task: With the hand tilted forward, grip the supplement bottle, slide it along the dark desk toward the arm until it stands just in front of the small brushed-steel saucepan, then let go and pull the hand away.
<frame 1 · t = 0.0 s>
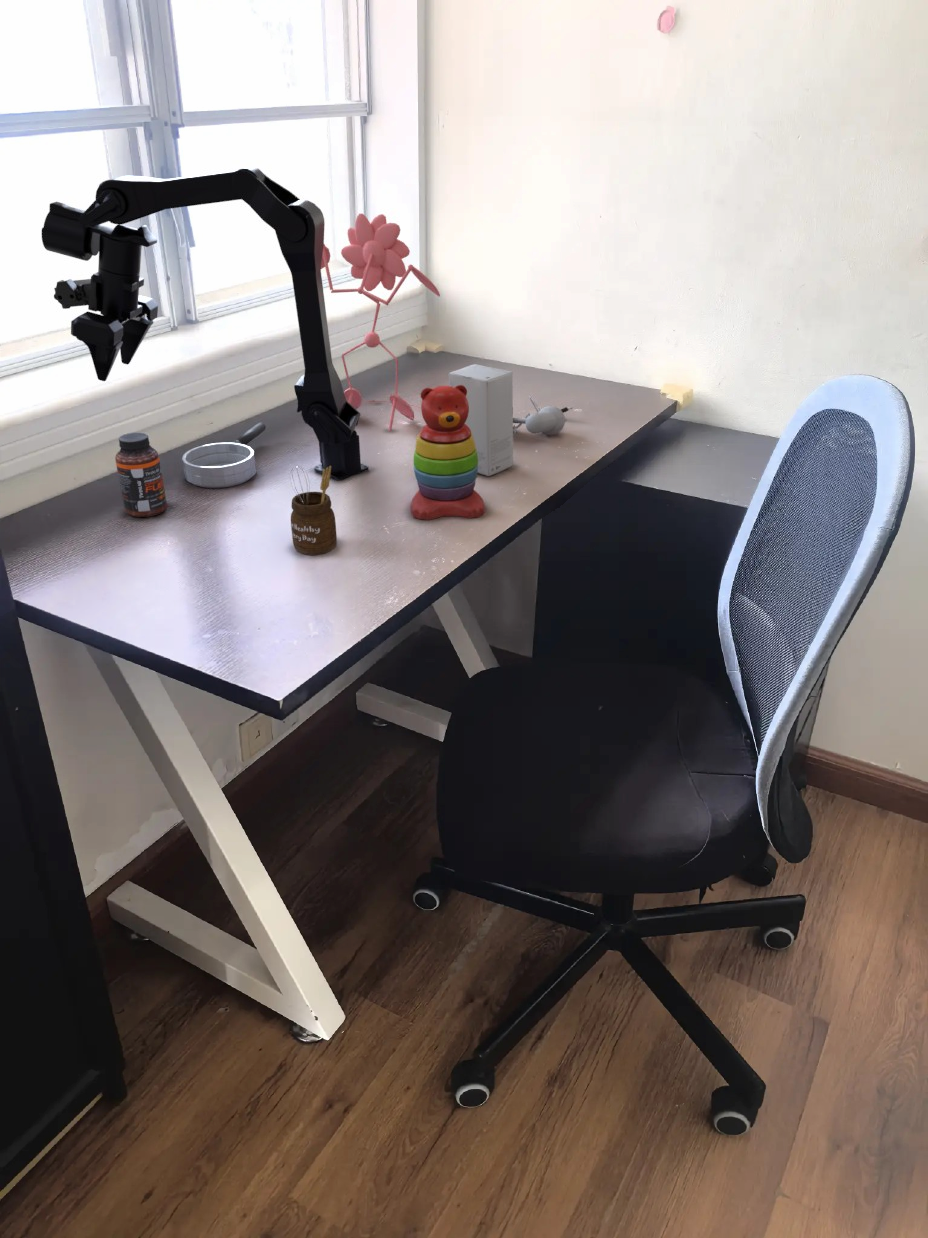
hand: (114, 371, 143), 15 cm above the table, tool pointing down, fingers open, 9 cm apart
utensil holder: (316, 547, 125), on the table
stacking bear: (446, 506, 137), on the table
supplement bottle: (147, 511, 136), on the table
cosmetic box: (481, 467, 150), on the table
pan: (221, 475, 147), on the table
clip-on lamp: (533, 431, 165), on the table
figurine: (386, 417, 172), on the table
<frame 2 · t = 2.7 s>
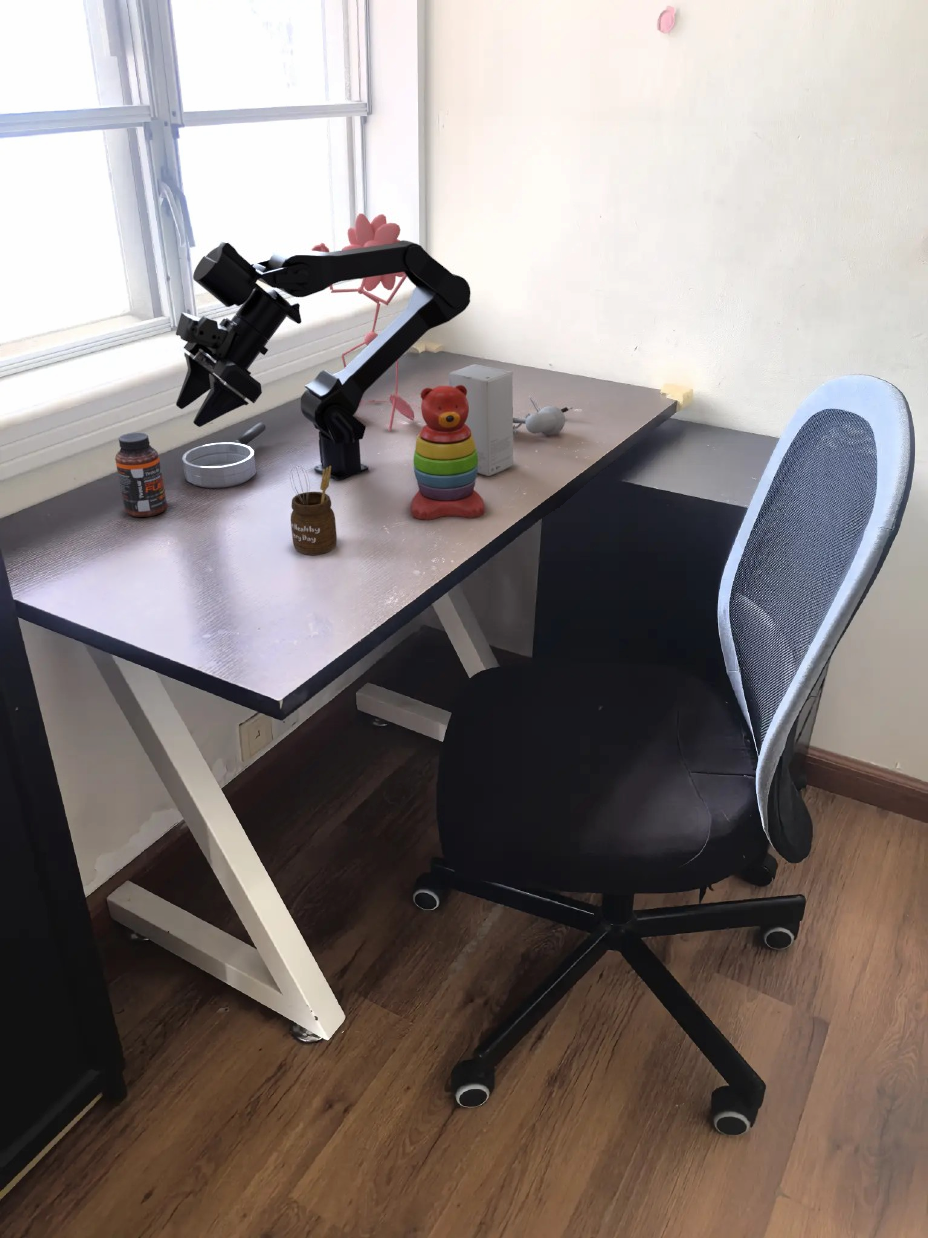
hand: (187, 415, 132), 13 cm above the table, tool tilted 45°, fingers open, 9 cm apart
nothing on the table moved.
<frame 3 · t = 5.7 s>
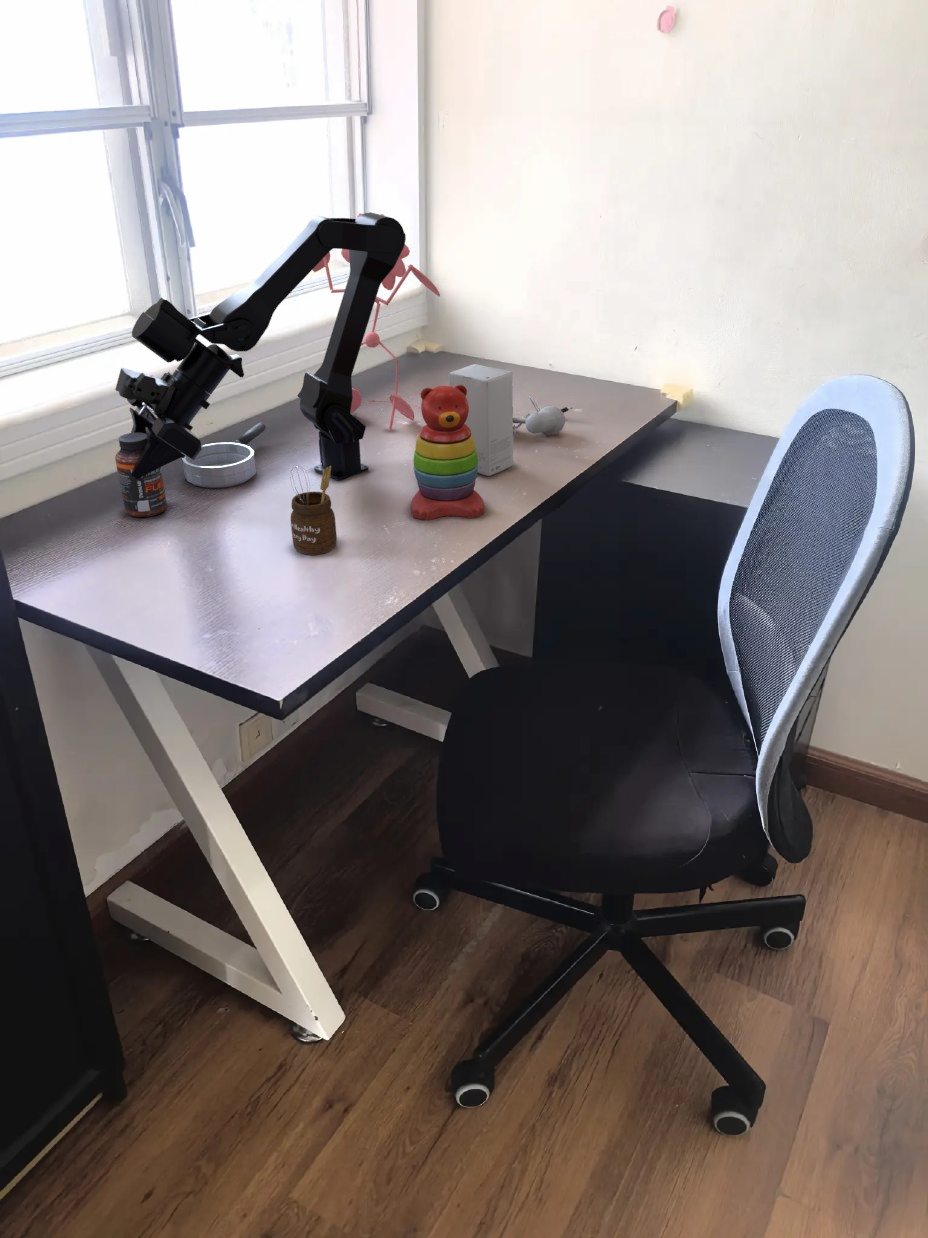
hand: (128, 469, 132), 7 cm above the table, tool tilted 45°, fingers closed on supplement bottle, 6 cm apart
supplement bottle: (147, 511, 136), on the table, touching gripper
everything else where it was.
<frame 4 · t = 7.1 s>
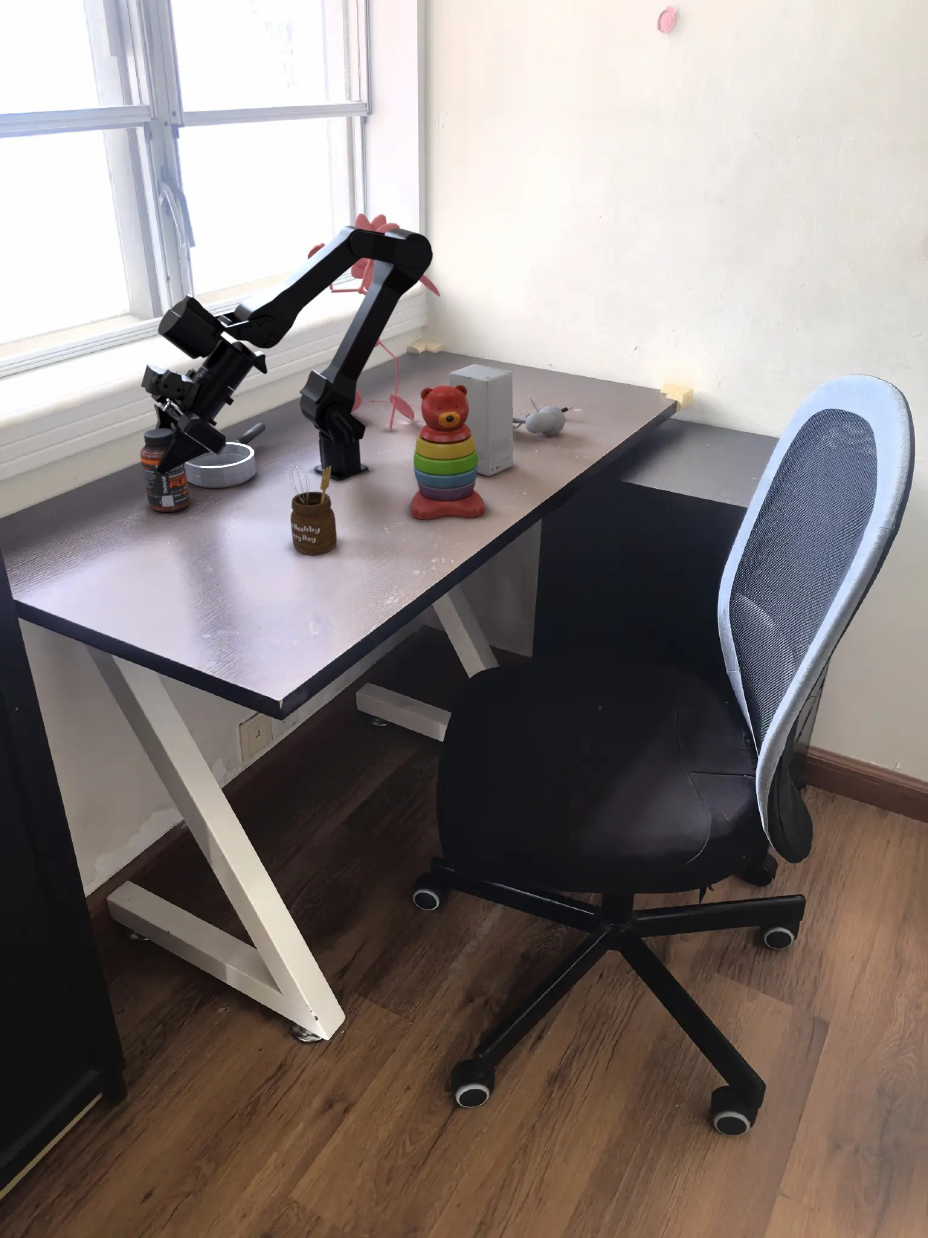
hand: (153, 465, 133), 7 cm above the table, tool tilted 45°, fingers closed on supplement bottle, 6 cm apart
supplement bottle: (170, 506, 137), on the table, touching gripper
everything else where it was.
when the fingers open (7 cm above the table, at t = 8.7 s): supplement bottle stays where it is, on the table.
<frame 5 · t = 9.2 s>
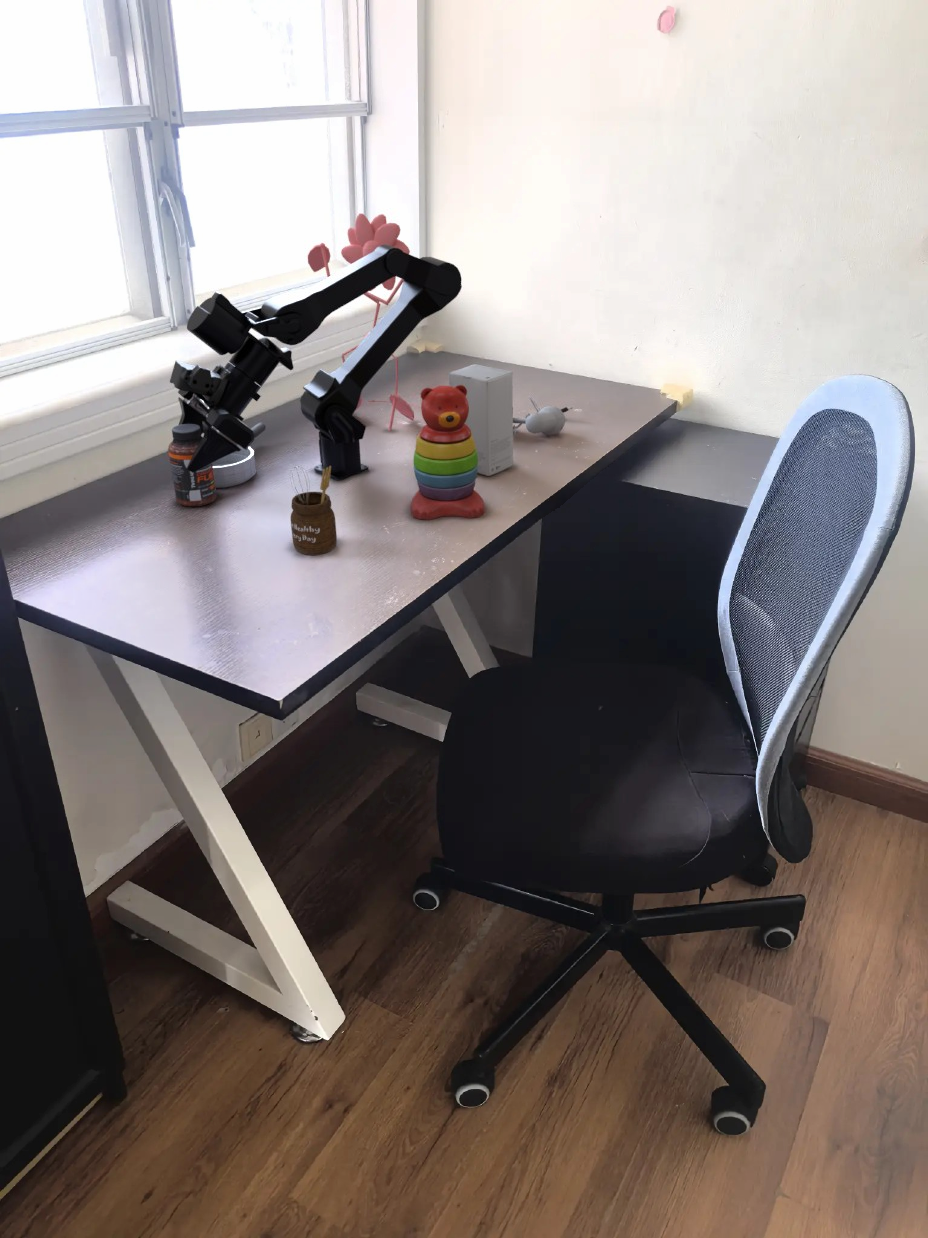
hand: (181, 460, 135), 7 cm above the table, tool tilted 45°, fingers open, 9 cm apart
supplement bottle: (197, 501, 139), on the table
everything else where it was.
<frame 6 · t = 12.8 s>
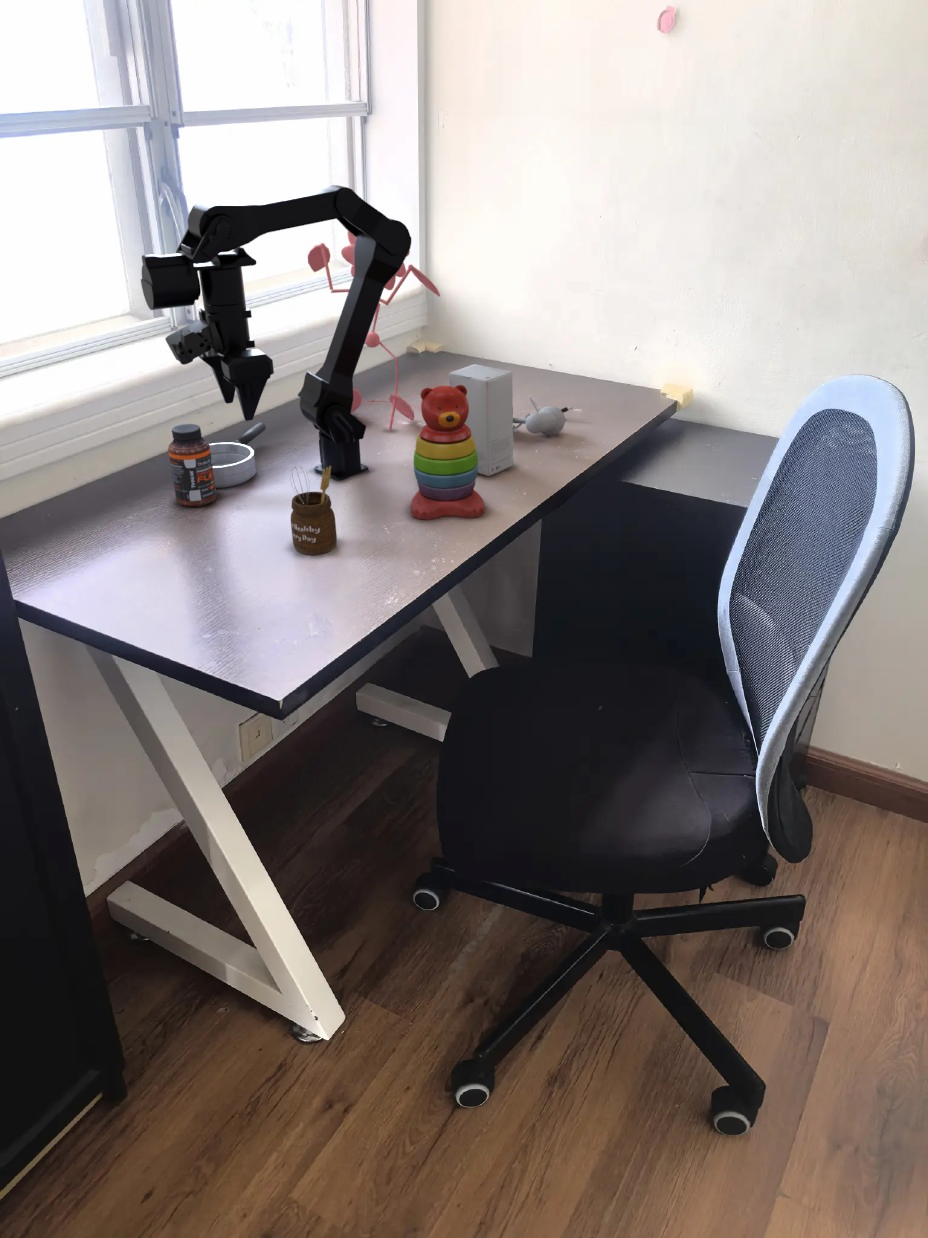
hand: (238, 411, 136), 12 cm above the table, tool pointing down, fingers open, 9 cm apart
nothing on the table moved.
at the end: supplement bottle 0.4 cm from the target spot on the table beside the pan, on the table; supplement bottle tilted 0°; the gripper is holding nothing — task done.
